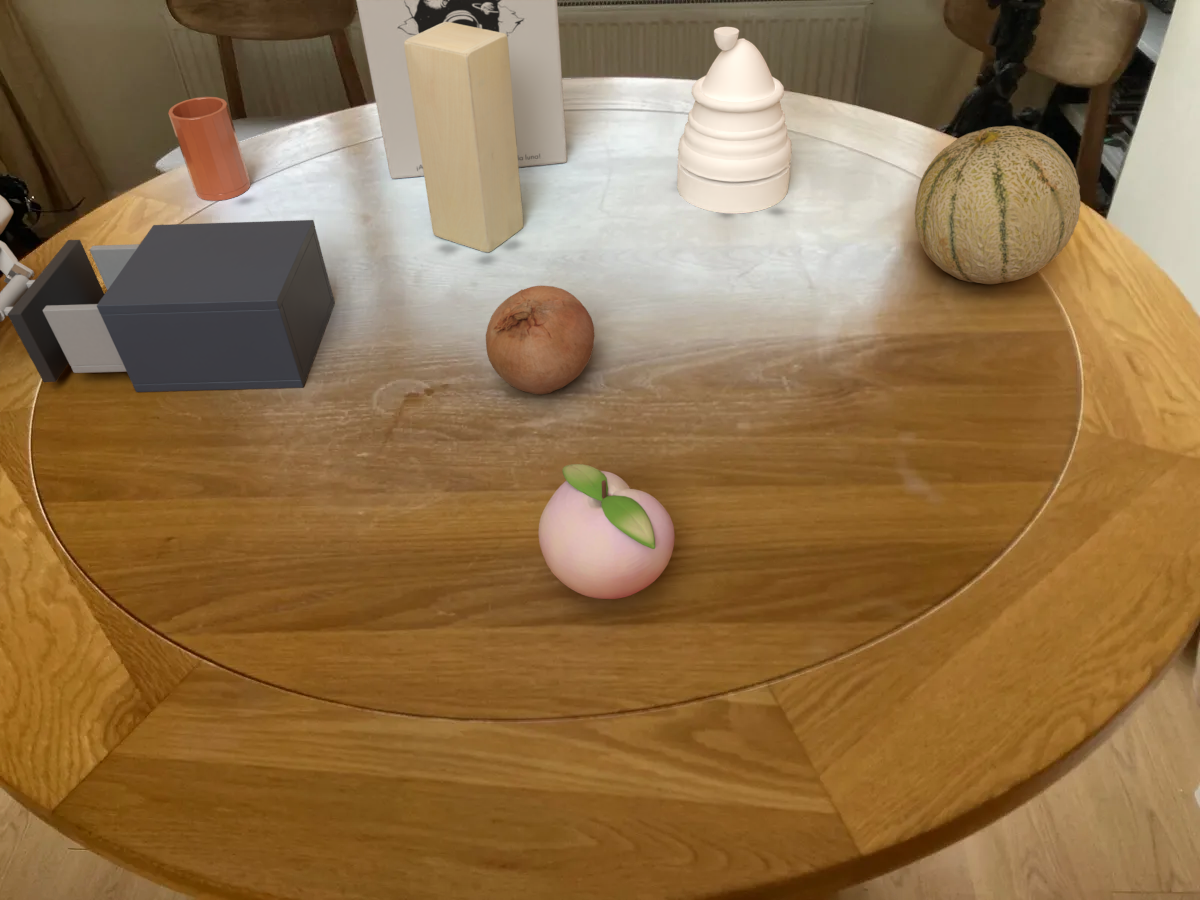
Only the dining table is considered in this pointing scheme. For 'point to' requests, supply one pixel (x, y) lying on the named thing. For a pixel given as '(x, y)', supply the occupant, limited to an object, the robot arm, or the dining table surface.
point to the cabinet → (220, 306)
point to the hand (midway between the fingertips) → (13, 301)
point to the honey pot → (735, 134)
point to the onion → (540, 339)
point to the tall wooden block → (466, 133)
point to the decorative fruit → (604, 534)
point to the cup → (210, 148)
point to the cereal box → (530, 20)
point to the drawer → (67, 311)
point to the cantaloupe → (997, 205)
